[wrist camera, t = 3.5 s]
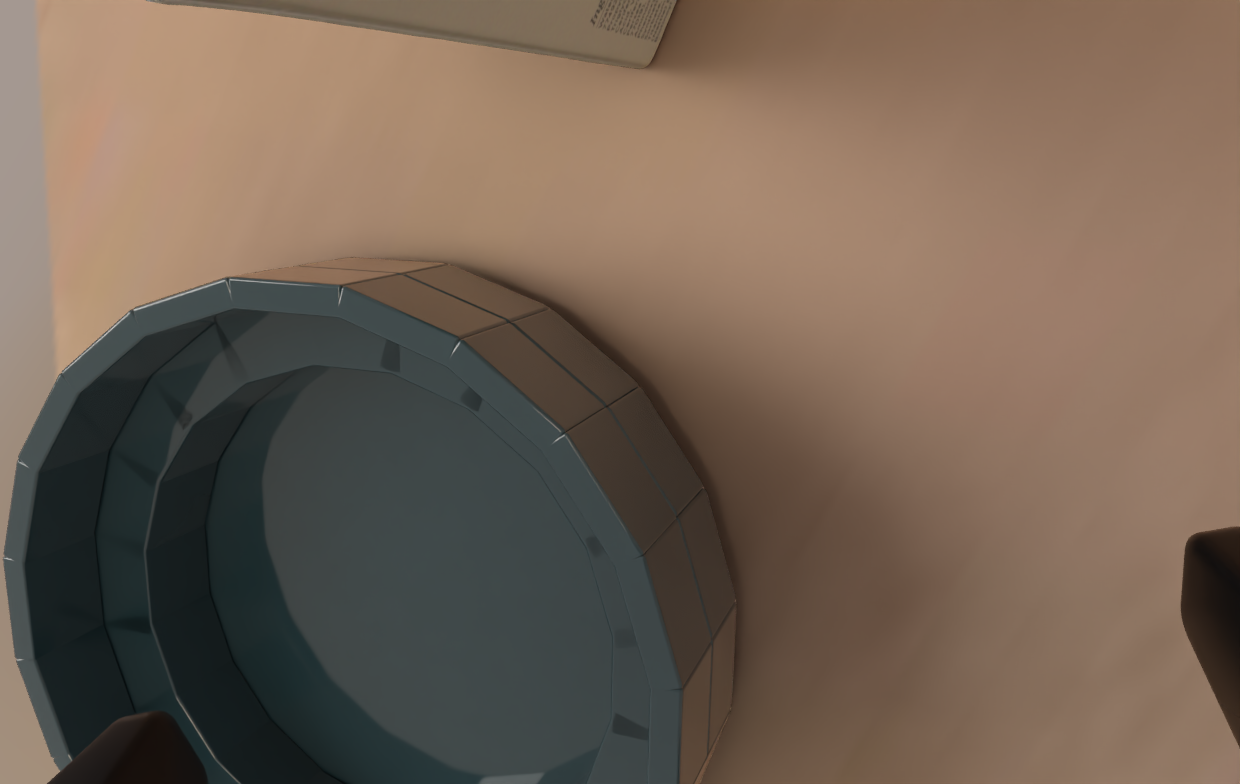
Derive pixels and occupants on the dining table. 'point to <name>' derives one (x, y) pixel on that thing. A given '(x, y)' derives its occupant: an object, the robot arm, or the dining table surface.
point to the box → (494, 23)
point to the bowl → (369, 541)
